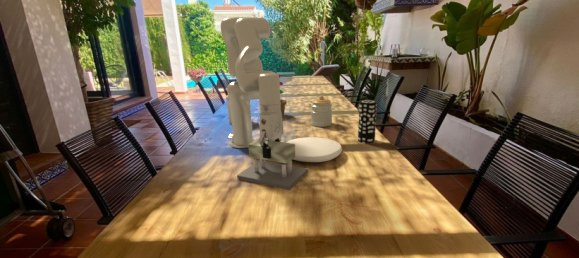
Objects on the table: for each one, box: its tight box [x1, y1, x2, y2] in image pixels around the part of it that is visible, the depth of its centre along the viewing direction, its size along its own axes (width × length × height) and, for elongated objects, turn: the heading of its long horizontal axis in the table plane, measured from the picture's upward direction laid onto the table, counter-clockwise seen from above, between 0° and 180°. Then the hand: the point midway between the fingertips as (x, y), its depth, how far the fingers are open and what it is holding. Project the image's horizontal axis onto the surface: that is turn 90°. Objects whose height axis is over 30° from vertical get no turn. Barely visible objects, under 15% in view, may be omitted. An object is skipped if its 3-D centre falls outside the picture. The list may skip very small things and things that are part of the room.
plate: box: [285, 136, 343, 163], centre depth 135 cm, size 28×6×27 cm
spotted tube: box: [357, 99, 378, 144], centre depth 149 cm, size 8×8×20 cm
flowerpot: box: [278, 74, 288, 118], centre depth 203 cm, size 14×14×30 cm
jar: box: [310, 95, 333, 128], centre depth 182 cm, size 13×13×18 cm
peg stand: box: [236, 158, 309, 191], centre depth 115 cm, size 22×16×6 cm
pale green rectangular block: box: [248, 138, 295, 164], centre depth 113 cm, size 16×7×5 cm, turn 63°
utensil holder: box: [225, 94, 251, 125], centre depth 192 cm, size 15×15×18 cm
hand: (272, 154), depth 114 cm, fingers closed on pale green rectangular block, 6 cm apart
